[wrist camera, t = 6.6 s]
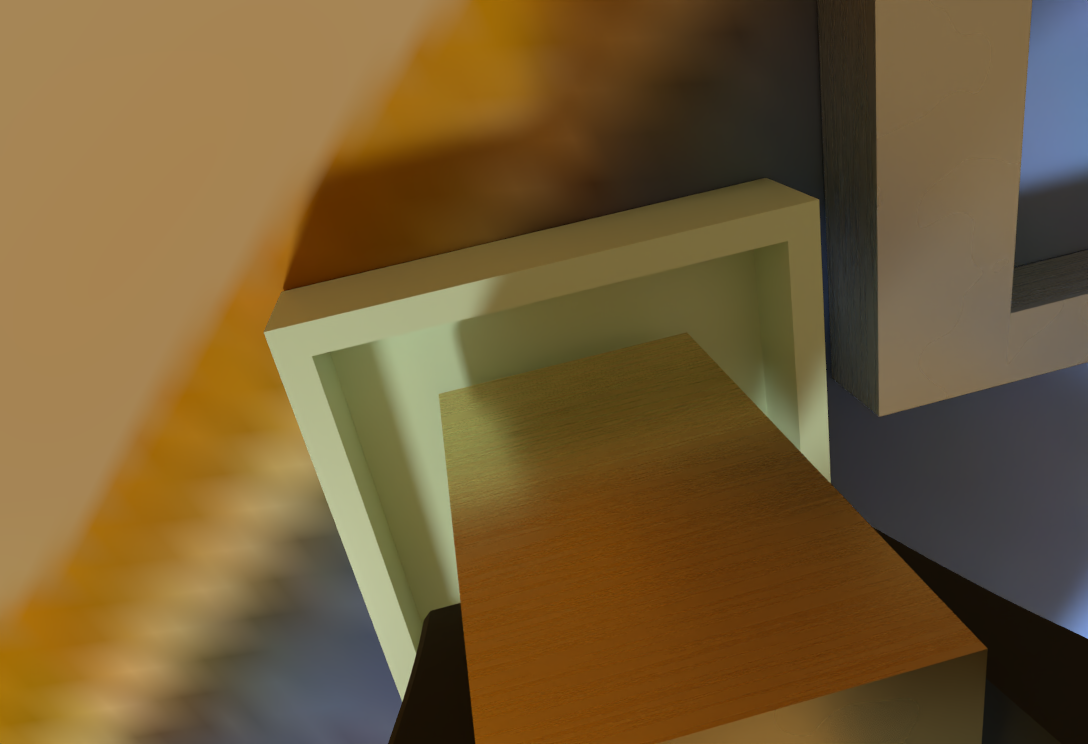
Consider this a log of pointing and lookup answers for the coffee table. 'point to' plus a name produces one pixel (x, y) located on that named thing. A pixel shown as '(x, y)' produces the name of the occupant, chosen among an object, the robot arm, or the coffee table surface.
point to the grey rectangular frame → (934, 205)
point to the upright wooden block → (681, 572)
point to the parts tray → (535, 358)
